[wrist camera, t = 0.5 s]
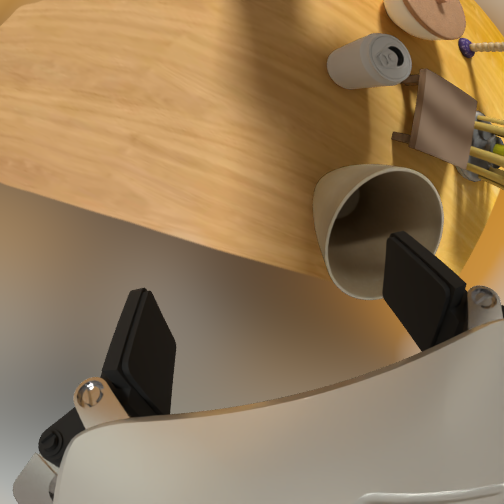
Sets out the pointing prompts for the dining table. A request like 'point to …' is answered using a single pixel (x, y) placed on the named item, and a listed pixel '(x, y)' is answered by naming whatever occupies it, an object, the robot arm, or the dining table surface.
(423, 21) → the lidded bowl
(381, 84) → the beverage can
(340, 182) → the plant pot
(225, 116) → the dining table surface
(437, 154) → the small brown table
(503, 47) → the toy lamp
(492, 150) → the lantern
